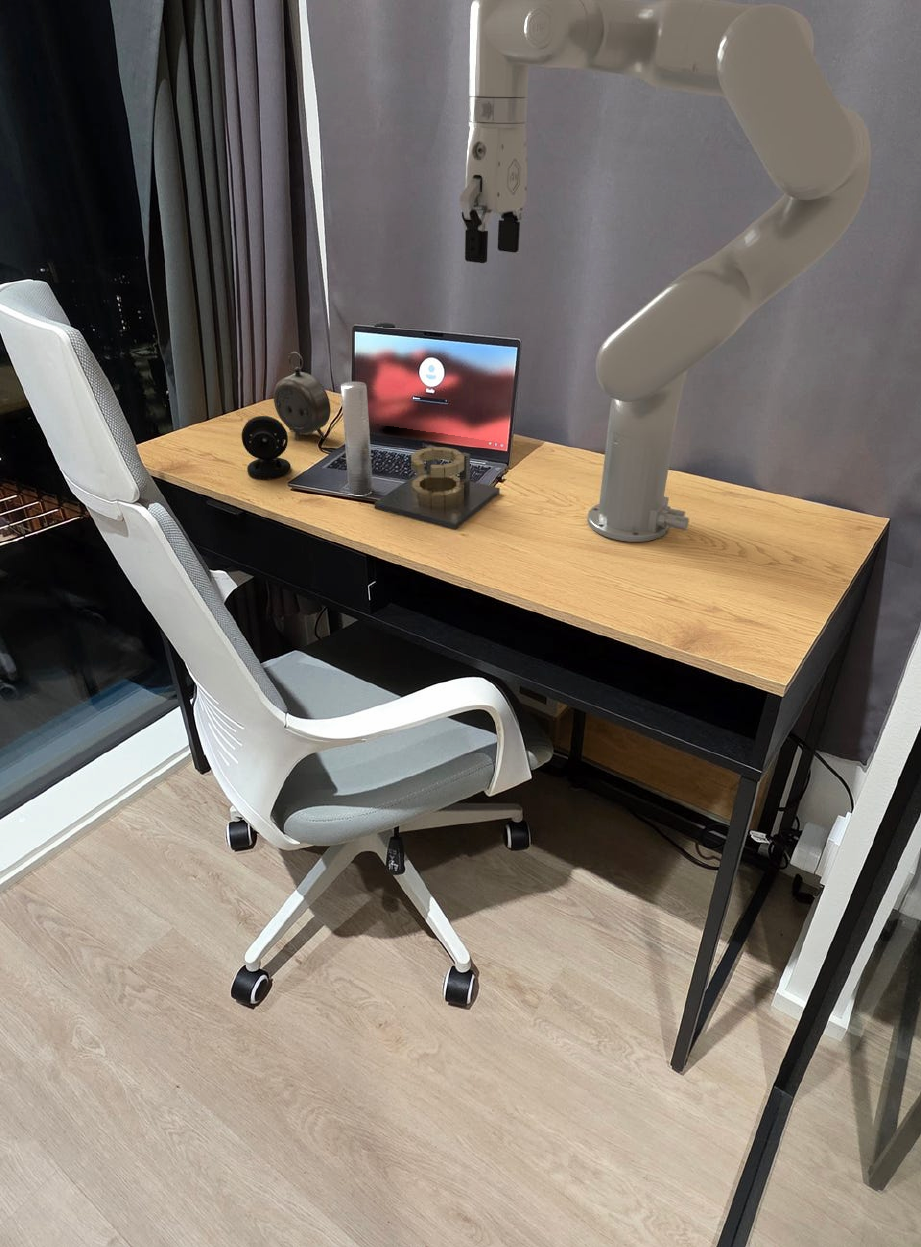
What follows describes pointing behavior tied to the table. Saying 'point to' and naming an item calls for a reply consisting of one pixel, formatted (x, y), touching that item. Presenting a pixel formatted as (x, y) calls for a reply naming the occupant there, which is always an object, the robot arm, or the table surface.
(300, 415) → the alarm clock
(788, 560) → the table surface
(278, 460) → the webcam
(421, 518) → the collar stand
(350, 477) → the steel tube
